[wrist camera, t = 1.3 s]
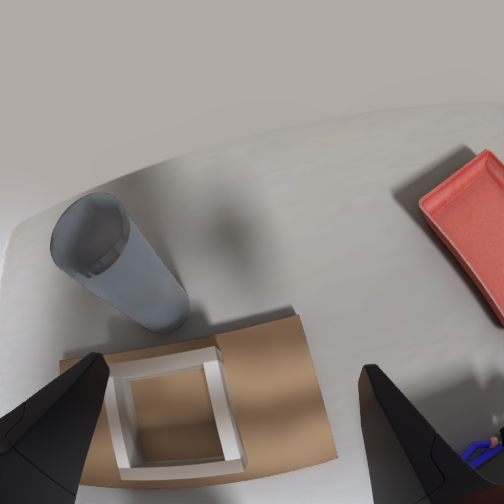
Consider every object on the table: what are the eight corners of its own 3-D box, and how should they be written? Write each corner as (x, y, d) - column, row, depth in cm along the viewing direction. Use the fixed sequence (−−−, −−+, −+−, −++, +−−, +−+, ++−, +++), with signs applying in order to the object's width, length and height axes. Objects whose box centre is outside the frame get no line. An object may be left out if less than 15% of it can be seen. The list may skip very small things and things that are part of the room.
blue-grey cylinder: (152, 343, 24) (60, 290, 13) (130, 298, 26) (44, 224, 15) (199, 314, 25) (137, 237, 14) (173, 271, 27) (109, 178, 16)
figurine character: (504, 408, 19) (385, 478, 17) (558, 396, 12) (438, 497, 11) (510, 460, 16) (393, 537, 14) (562, 458, 9) (440, 565, 7)
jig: (335, 455, 19) (346, 466, 15) (85, 482, 18) (60, 489, 15) (297, 317, 24) (302, 302, 21) (65, 362, 24) (39, 354, 20)
